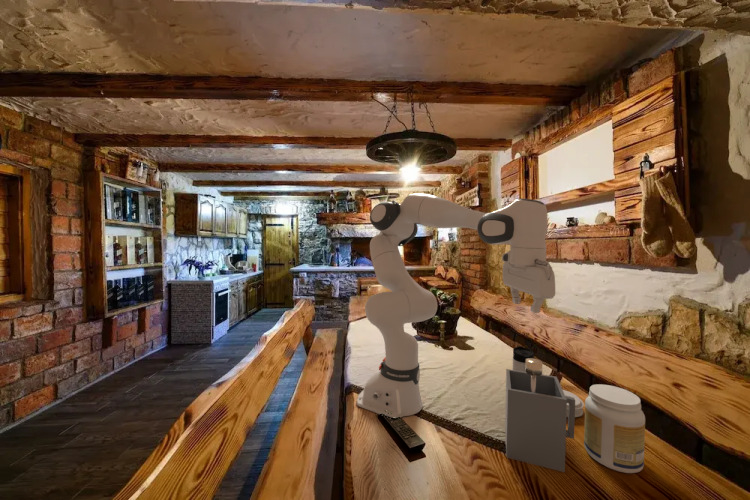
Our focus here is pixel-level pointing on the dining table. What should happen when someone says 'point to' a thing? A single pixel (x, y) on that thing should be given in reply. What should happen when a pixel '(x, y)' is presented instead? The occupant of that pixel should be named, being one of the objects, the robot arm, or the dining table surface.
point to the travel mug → (521, 357)
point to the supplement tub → (615, 428)
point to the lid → (578, 404)
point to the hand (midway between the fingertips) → (525, 307)
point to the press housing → (537, 420)
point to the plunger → (533, 371)
